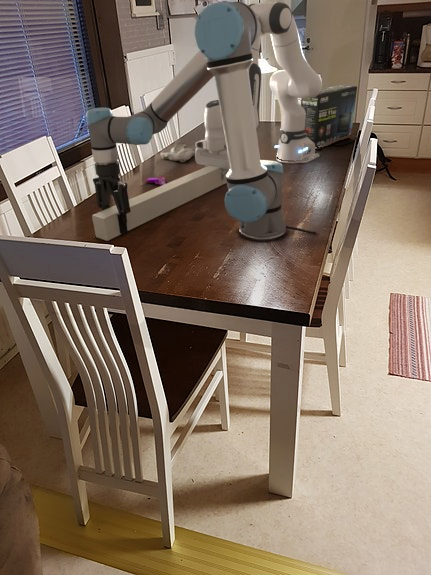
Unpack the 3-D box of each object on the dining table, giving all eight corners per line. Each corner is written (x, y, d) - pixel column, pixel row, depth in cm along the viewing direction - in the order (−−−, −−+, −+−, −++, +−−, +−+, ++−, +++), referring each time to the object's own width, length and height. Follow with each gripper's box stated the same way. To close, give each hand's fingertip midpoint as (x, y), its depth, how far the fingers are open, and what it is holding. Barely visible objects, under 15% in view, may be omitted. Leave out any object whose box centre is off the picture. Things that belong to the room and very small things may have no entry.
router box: (314, 151, 231) (318, 94, 217) (296, 148, 237) (299, 92, 224) (352, 138, 251) (358, 85, 238) (335, 135, 258) (340, 83, 245)
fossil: (184, 156, 217) (163, 136, 220) (174, 174, 223) (154, 154, 227) (205, 153, 231) (186, 134, 234) (195, 171, 237) (176, 152, 240)
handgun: (147, 181, 199) (146, 177, 198) (164, 179, 200) (164, 175, 199) (150, 197, 182) (149, 192, 181) (169, 195, 183) (169, 190, 182)
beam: (107, 241, 148) (103, 218, 144) (95, 237, 151) (91, 215, 147) (232, 179, 197) (232, 162, 193) (222, 177, 200) (221, 160, 196)
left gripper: (136, 162, 140) (145, 232, 152) (95, 154, 150) (106, 220, 162) (118, 168, 135) (128, 240, 147) (77, 160, 144) (90, 228, 156)
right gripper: (242, 145, 182) (242, 179, 189) (201, 139, 193) (203, 171, 200) (233, 148, 178) (233, 183, 185) (192, 142, 188) (194, 175, 195)
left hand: (117, 230), depth 154 cm, fingers closed on beam, 6 cm apart
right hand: (217, 177), depth 192 cm, fingers closed on beam, 5 cm apart
